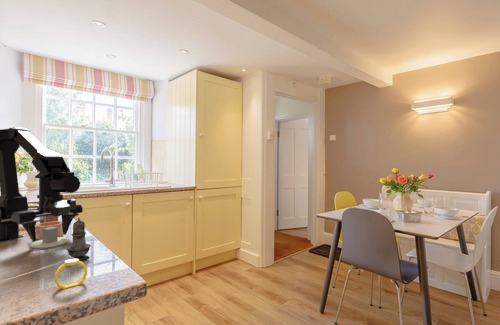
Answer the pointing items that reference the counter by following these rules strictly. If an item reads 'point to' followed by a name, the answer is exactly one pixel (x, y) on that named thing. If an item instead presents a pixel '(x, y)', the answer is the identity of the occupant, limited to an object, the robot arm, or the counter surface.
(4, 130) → the robot arm
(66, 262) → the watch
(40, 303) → the counter surface
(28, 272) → the counter surface
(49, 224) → the bowl
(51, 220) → the pill bottle
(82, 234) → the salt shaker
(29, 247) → the mat
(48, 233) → the lid
